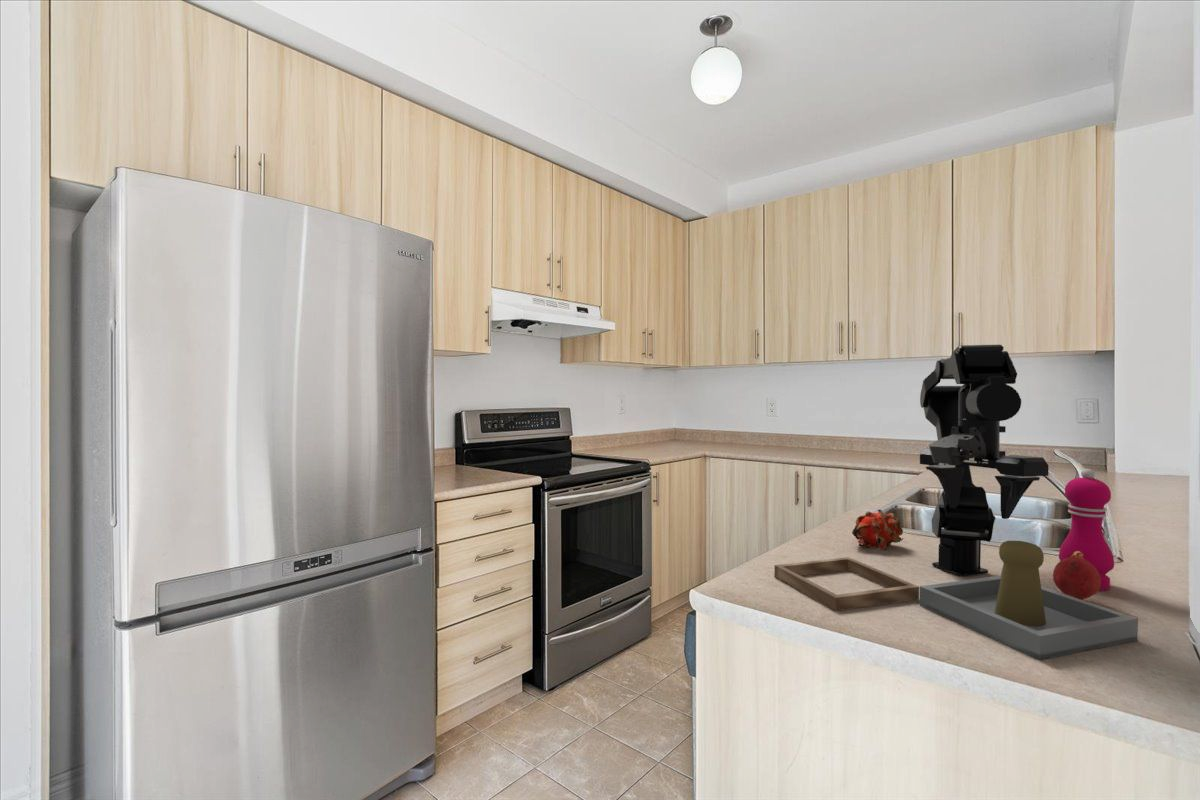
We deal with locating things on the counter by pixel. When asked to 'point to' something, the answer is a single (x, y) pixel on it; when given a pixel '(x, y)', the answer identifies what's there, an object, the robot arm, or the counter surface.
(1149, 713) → the counter surface
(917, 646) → the counter surface
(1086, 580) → the pomegranate
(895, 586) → the frame
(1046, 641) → the gray square tray
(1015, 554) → the olive shaker
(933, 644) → the counter surface
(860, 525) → the dragon fruit
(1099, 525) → the pepper mill
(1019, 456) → the robot arm
